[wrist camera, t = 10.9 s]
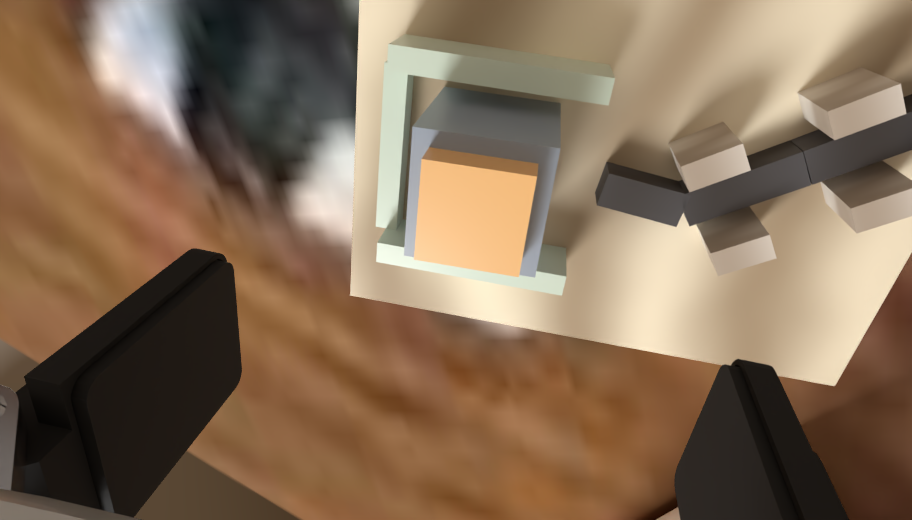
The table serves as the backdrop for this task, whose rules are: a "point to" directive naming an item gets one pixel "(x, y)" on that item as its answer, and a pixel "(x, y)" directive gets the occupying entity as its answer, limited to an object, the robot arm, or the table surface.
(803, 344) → the board
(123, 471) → the robot arm
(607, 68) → the bracket
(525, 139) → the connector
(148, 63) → the table surface
